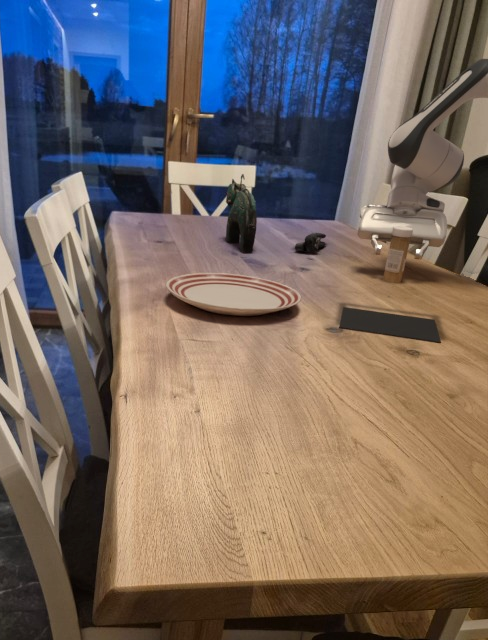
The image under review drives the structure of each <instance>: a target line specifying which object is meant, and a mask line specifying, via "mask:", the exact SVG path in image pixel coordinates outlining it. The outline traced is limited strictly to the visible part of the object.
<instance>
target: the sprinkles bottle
mask: <svg viewBox="0 0 488 640" xmlns="http://www.w3.org/2000/svg"><path fill="white" fill-rule="evenodd" d="M412 233H413V229H412V228H409V227H403V226H395V227H393V230H392V239H391V242H389V247H388V252H387V256H386V260H385V266H384V273H383V278H382V280H383V281H384V282H387V283H391V284H399V283H400V284H401V283H402V279H403V274H404V271H405V268H406V267H405V266H406V262H407V258H408V251H409V247H410V244H409V243H410V239H411V237H412Z"/></svg>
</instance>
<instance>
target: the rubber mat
mask: <svg viewBox="0 0 488 640" xmlns="http://www.w3.org/2000/svg"><path fill="white" fill-rule="evenodd" d="M338 328H339V329H341V330H349V331H356V332H364V333H369V334H370V333H371V334H375V335H382V336H384V335H385V336H390V337H397V338H402V339H403V338H404V339H411V340H418V341H423V342H424V341H425V342H431V343H437V344H441V343H442V340H441V337H440V334H439V330H438V326H437V323H436V320H435V319H433V318H425V317H419V316H411V315H404V314H396V313H390V312H382V311H375V310H369V309H368V310H367V309H361V308H354V307H347V306H343V307H342V312H341V317H340V322H339V326H338Z"/></svg>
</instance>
